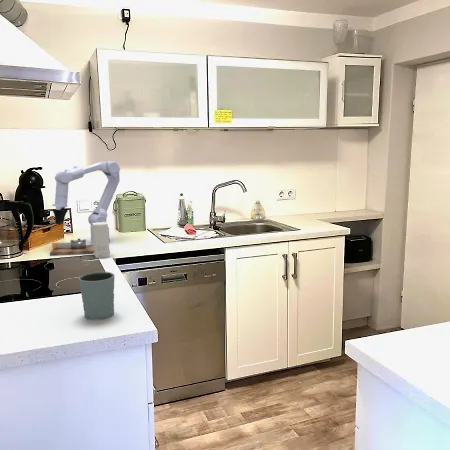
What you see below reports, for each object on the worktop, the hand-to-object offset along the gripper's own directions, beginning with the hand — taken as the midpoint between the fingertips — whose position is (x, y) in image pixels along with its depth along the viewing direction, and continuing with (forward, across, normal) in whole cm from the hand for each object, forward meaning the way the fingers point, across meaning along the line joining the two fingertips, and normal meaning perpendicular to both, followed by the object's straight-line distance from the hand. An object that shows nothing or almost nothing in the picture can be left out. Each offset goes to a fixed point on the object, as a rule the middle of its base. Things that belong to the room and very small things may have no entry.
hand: (59, 223), depth 225 cm
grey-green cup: (+16, +98, +29) cm, 103 cm away
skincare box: (+12, +19, +23) cm, 32 cm away
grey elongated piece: (+11, +6, +6) cm, 14 cm away
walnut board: (+12, +6, +9) cm, 16 cm away
